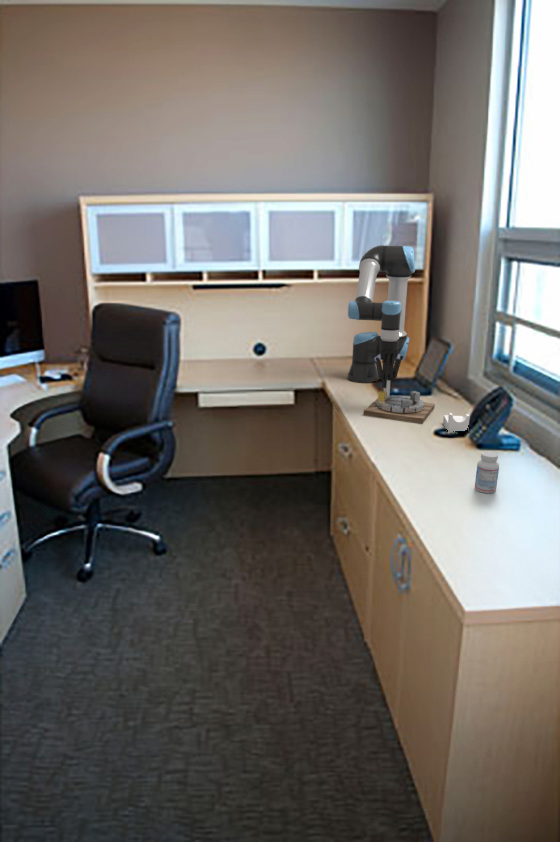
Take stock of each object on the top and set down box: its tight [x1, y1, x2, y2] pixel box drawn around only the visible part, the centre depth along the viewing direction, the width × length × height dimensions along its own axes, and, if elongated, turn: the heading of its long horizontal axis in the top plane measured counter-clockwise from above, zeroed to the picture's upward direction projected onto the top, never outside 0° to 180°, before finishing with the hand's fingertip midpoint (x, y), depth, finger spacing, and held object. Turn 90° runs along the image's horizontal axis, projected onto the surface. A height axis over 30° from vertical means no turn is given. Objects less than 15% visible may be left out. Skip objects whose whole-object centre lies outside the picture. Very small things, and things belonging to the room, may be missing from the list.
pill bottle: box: [474, 450, 500, 494], centre depth 184 cm, size 6×6×11 cm
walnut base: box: [363, 397, 436, 424], centre depth 261 cm, size 24×24×4 cm
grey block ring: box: [377, 390, 425, 413], centre depth 260 cm, size 19×19×5 cm
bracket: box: [442, 412, 471, 433], centre depth 240 cm, size 13×7×8 cm, turn 174°
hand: (386, 395), depth 265 cm, fingers closed
